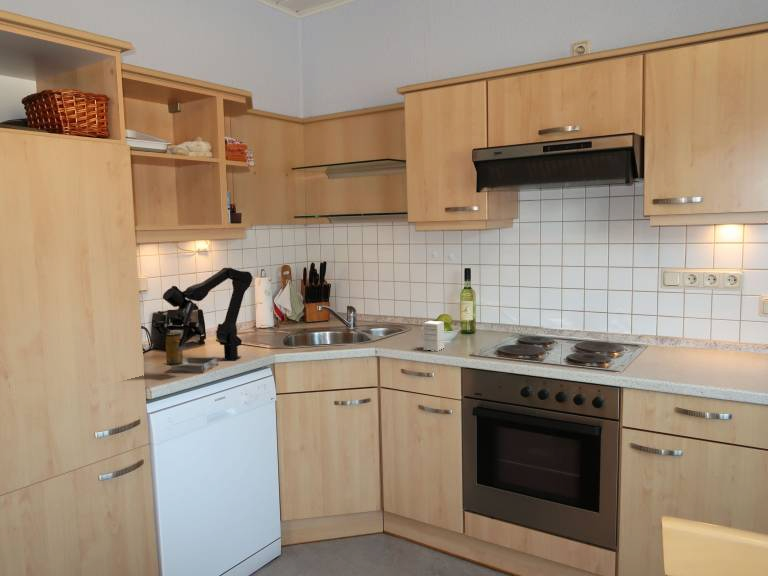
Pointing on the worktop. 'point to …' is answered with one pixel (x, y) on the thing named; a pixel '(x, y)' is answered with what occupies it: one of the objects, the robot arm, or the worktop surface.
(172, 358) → the condiment
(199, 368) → the grey square frame
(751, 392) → the worktop surface
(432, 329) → the supplement box
